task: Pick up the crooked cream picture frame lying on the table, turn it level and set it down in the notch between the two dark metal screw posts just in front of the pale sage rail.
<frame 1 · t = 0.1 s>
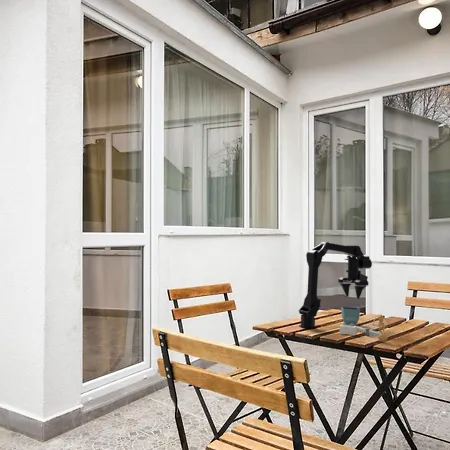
hand: (352, 297, 252), 15 cm above the table, tool pointing down, fingers open, 9 cm apart
figurine: (381, 342, 210), on the table
rail: (366, 332, 231), on the table
flower pot: (350, 325, 251), on the table
frame: (347, 334, 226), on the table
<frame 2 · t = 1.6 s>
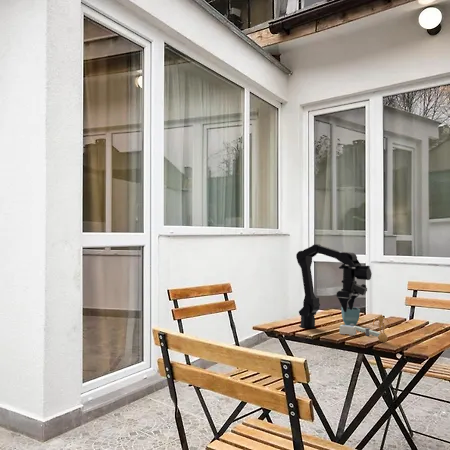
hand: (348, 310, 227), 11 cm above the table, tool pointing down, fingers open, 9 cm apart
nothing on the table moved.
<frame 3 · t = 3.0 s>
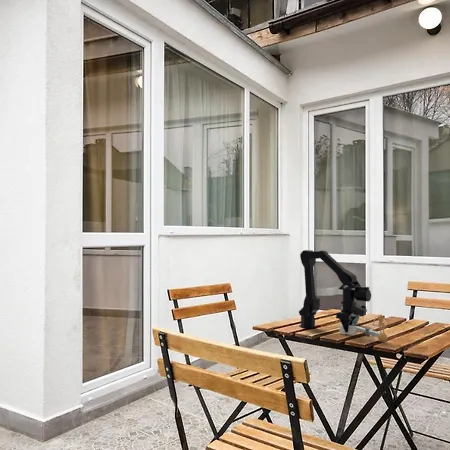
hand: (347, 331, 226), 1 cm above the table, tool pointing down, fingers closed on frame, 4 cm apart
frame: (347, 333, 226), on the table, touching gripper
everything else where it was.
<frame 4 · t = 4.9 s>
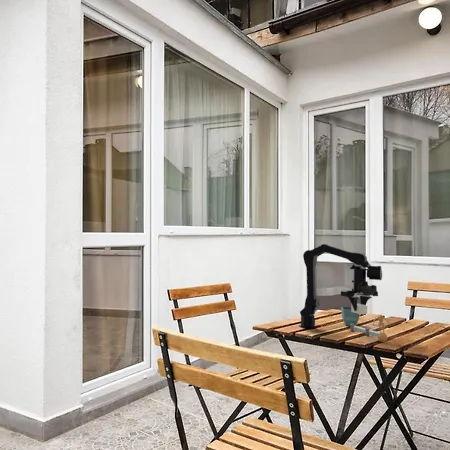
hand: (359, 310, 229), 11 cm above the table, tool pointing down, fingers closed on frame, 4 cm apart
frame: (359, 312, 229), point 10 cm above the table, touching gripper
everything else where it was.
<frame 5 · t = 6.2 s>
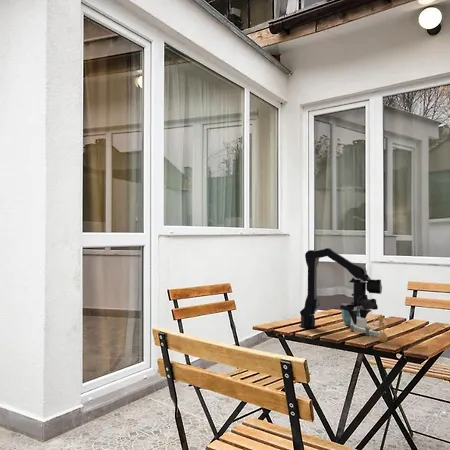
hand: (358, 324, 229), 4 cm above the table, tool pointing down, fingers closed on frame, 4 cm apart
frame: (358, 326, 229), point 3 cm above the table, touching gripper
everything else where it was.
when the fingers open (3 cm above the table, at t = 6.9 s): frame drops 2 cm, on the table.
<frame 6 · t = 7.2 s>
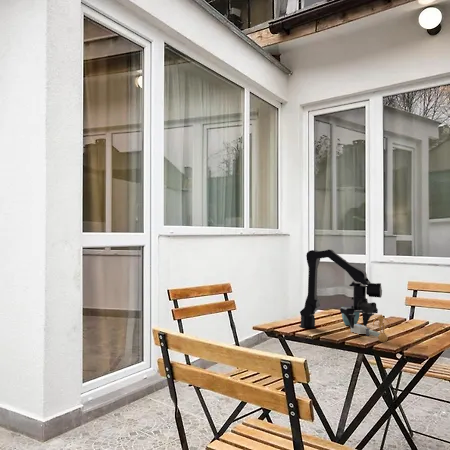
hand: (358, 327, 229), 3 cm above the table, tool pointing down, fingers open, 7 cm apart
frame: (358, 333, 229), on the table
everything else where it was.
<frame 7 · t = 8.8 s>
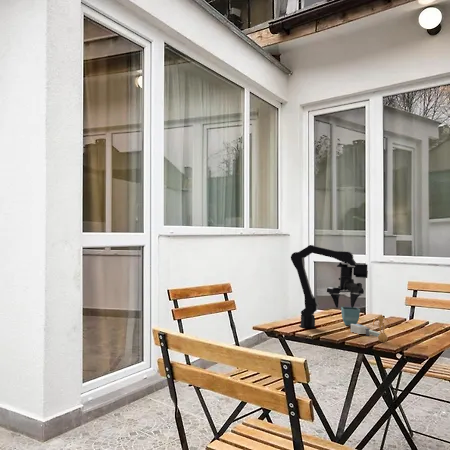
hand: (344, 307, 235), 12 cm above the table, tool pointing down, fingers open, 9 cm apart
nothing on the table moved.
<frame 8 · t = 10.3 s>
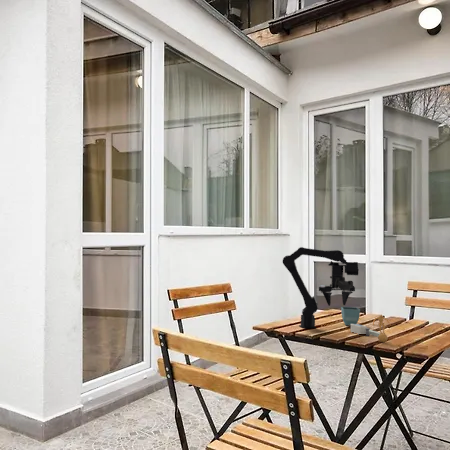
hand: (336, 305, 238), 12 cm above the table, tool pointing down, fingers open, 9 cm apart
nothing on the table moved.
at the end: frame 0.0 cm from the target spot, on the table; frame tilted 0°; the gripper is holding nothing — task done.
